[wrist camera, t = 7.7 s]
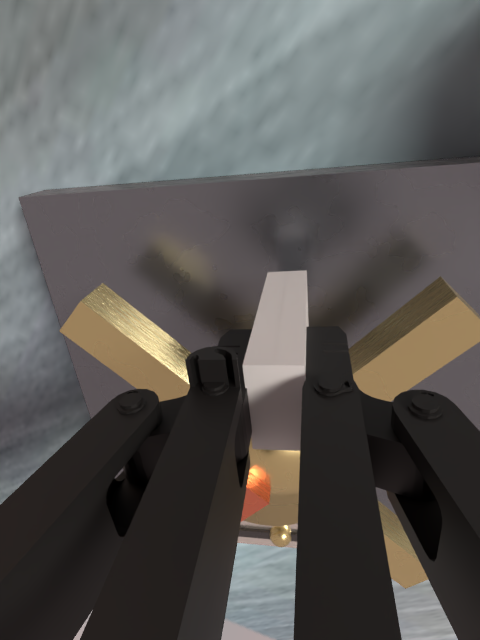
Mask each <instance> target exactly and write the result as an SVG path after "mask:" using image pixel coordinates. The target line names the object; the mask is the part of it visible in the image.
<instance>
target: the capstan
mask: <svg viewBox="0 0 480 640" xmlns="http://www.w3.org/2000/svg"><path fill="white" fill-rule="evenodd" d="M60 332H61V333H62V334H64V335H65V336H67V337H68V338H69V339H71V340H72V341H73V342H75V343H76V344H77V345H79V346H80V347H81V348H83V349H84V350H85V351H87V352H88V353H89V354H91V355H92V356H93V357H95V358H96V359H97V360H99V361H100V362H101V363H103V364H104V365H106V366H107V367H108V368H110V369H111V370H112V371H114V372H115V373H116V374H118V375H119V376H120V377H122V378H123V379H124V380H126V381H127V382H128V383H130V384H131V385H132V386H134V387H135V388H136V389H148V390H151V391H154V392H155V393H156V394H157V396H158V398H159V402H160V401H165V400H170V399H175V398H179V397H183V396H185V395H187V393H188V391H189V389H190V384H189V379H188V373H187V368H186V363H185V359H186V358H187V357H188V356H189V355H190V354H191V352H190V351H189V350H187V349H186V348H185V347H183V346H182V345H181V344H180V343H178V342H177V341H176V340H175V339H173V338H172V337H171V336H170V335H168V334H167V333H166V332H165V331H163V330H162V329H161V328H159V327H158V326H157V325H156V324H154V323H153V322H152V321H151V320H149V319H148V318H147V317H146V316H144V315H143V314H142V313H140V312H139V311H138V310H137V309H135V308H134V307H133V306H132V305H130V304H129V303H128V302H127V301H125V300H124V299H123V298H122V297H120V296H119V295H118V294H116V293H115V292H114V291H113V290H111V289H110V288H109V287H108V286H106V285H105V284H104V283H102V284H101V285H100V286H98V287H97V288H96V289H95V290H93V291H92V292H91V293H90V294H89V295H87V296H86V297H85V298H84V299H82V300H81V301H80V303H79V304H78V305H77V307H76V308H75V310H74V311H73V312H72V314H71V315H70V317H69V318H68V319H67V321H66V322H65V324H64V325H63V326H62V328H61V329H60ZM479 342H480V316H479V315H478V314H477V313H476V311H475V310H474V309H473V308H472V307H471V306H470V305H469V304H468V303H467V302H466V301H465V300H464V299H463V298H462V297H461V296H460V295H459V294H458V293H457V292H456V291H455V290H454V289H453V288H452V287H451V286H450V285H449V284H448V283H447V282H446V281H445V280H444V279H443V278H442V277H441V276H440V277H439V278H438V279H436V280H435V281H434V282H433V283H431V284H430V285H429V286H427V287H426V288H425V289H424V290H422V291H421V292H420V293H419V294H417V295H416V296H415V297H414V298H412V299H411V300H410V301H409V302H407V303H406V304H405V305H403V306H402V307H401V308H400V309H398V310H397V311H396V312H395V313H393V314H392V315H391V316H390V317H388V318H387V319H386V320H385V321H383V322H382V323H381V324H379V325H378V326H377V327H376V328H374V329H373V330H372V331H371V332H369V333H368V334H367V335H366V336H364V337H363V338H362V339H360V340H359V341H358V342H357V343H355V344H354V345H353V346H352V347H350V348H349V354H350V360H351V366H352V373H353V379H354V381H355V382H356V384H357V386H358V388H359V389H360V390H361V391H362V392H364V393H365V394H367V395H369V396H371V397H374V398H377V399H381V400H385V401H389V402H391V401H392V400H394V398H395V397H396V396H397V395H399V394H400V393H401V392H405V391H407V390H409V389H410V388H412V387H413V386H415V385H416V384H418V383H419V382H421V381H422V380H424V379H425V378H427V377H428V376H430V375H431V374H433V373H434V372H436V371H437V370H438V369H440V368H441V367H443V366H444V365H446V364H447V363H449V362H450V361H452V360H453V359H455V358H456V357H458V356H459V355H461V354H462V353H464V352H465V351H467V350H468V349H470V348H471V347H473V346H474V345H476V344H477V343H479ZM249 455H250V470H249V476H248V482H247V488H246V494H245V500H244V506H243V512H242V518H241V522H242V521H246V522H250V523H254V524H259V525H266V526H285V525H293V524H297V523H298V501H299V471H300V451H292V450H265V449H253V448H252V440H250V445H249ZM378 505H379V511H380V516H381V522H382V528H383V534H384V540H385V546H386V552H387V557H388V563H389V569H390V575H391V578H392V579H393V580H395V581H396V582H397V583H399V584H400V585H401V586H403V587H404V588H405V589H406V588H408V587H411V586H413V585H416V584H418V583H421V582H423V581H425V580H428V577H427V575H426V573H425V571H424V569H423V567H422V565H421V563H420V561H419V559H418V557H417V555H416V553H415V551H414V549H413V547H412V545H411V543H410V541H409V539H408V537H407V535H406V533H405V531H404V529H403V527H402V525H401V523H400V521H399V519H398V517H397V515H396V514H395V513H393V512H392V511H391V510H390V509H388V508H387V507H386V506H385V505H383V504H382V503H381V502H380V501H378Z"/></svg>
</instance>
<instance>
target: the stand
mask: <svg viewBox="0 0 480 640" xmlns="http://www.w3.org/2000/svg"><path fill="white" fill-rule="evenodd" d="M19 201H20V204H21V207H22V210H23V213H24V216H25V219H26V222H27V225H28V228H29V231H30V234H31V237H32V240H33V243H34V246H35V249H36V252H37V255H38V258H39V261H40V265H41V268H42V271H43V274H44V277H45V280H46V283H47V286H48V289H49V292H50V295H51V298H52V301H53V304H54V307H55V310H56V313H57V316H58V319H59V322H60V326H61V328H62V326H63V325H64V324H65V322H66V321H67V319H68V318H69V317H70V315H71V314H72V312H73V311H74V310H75V308H76V307H77V305H78V304H79V303H80V301H81V300H82V299H84V298H85V297H86V296H87V295H89V294H90V293H91V292H92V291H93V290H95V289H96V288H97V287H98V286H100V285H101V284H102V283H104V284H105V285H106V286H108V287H109V288H110V289H111V290H113V291H114V292H115V293H116V294H118V295H119V296H120V297H122V298H123V299H124V300H125V301H127V302H128V303H129V304H130V305H132V306H133V307H134V308H135V309H137V310H138V311H139V312H140V313H142V314H143V315H144V316H146V317H147V318H148V319H149V320H151V321H152V322H153V323H154V324H156V325H157V326H158V327H159V328H161V329H162V330H163V331H165V332H166V333H167V334H168V335H170V336H171V337H172V338H173V339H175V340H176V341H177V342H178V343H180V344H181V345H182V346H183V347H185V348H186V349H187V350H189V351H190V352H191V353H193V352H195V351H196V350H199V349H202V348H205V347H213V346H217V345H218V343H219V341H220V338H221V337H222V336H223V335H224V334H225V333H226V332H228V331H229V330H230V329H252V328H253V325H254V321H255V317H256V314H257V310H258V306H259V303H260V299H261V295H262V292H263V288H264V284H265V280H266V277H267V273H268V272H282V271H304V270H307V293H308V323H309V327H320V326H339V327H340V328H341V329H342V330H343V331H344V332H345V333H346V336H347V342H348V348H350V347H352V346H353V345H354V344H355V343H357V342H358V341H359V340H360V339H362V338H363V337H364V336H366V335H367V334H368V333H369V332H371V331H372V330H373V329H374V328H376V327H377V326H378V325H379V324H381V323H382V322H383V321H385V320H386V319H387V318H388V317H390V316H391V315H392V314H393V313H395V312H396V311H397V310H398V309H400V308H401V307H402V306H403V305H405V304H406V303H407V302H409V301H410V300H411V299H412V298H414V297H415V296H416V295H417V294H419V293H420V292H421V291H422V290H424V289H425V288H426V287H427V286H429V285H430V284H431V283H433V282H434V281H435V280H436V279H438V278H439V277H440V276H441V277H442V278H443V279H444V280H445V281H446V282H447V283H448V284H449V285H450V286H451V287H452V288H453V289H454V290H455V291H456V292H457V293H458V294H459V295H460V296H461V297H462V298H463V299H464V300H465V301H466V302H467V303H468V304H469V305H470V306H471V307H472V308H473V309H474V310H475V311H476V313H477V314H478V315H479V316H480V156H474V157H462V158H449V159H436V160H423V161H411V162H398V163H385V164H372V165H359V166H347V167H334V168H321V169H308V170H295V171H283V172H270V173H257V174H244V175H232V176H219V177H206V178H193V179H180V180H168V181H155V182H142V183H129V184H116V185H104V186H91V187H78V188H65V189H52V190H43V191H40V192H36V193H32V194H29V195H25V196H22V197H19ZM63 335H64V334H63ZM64 338H65V341H66V344H67V347H68V350H69V353H70V356H71V359H72V362H73V365H74V368H75V371H76V374H77V377H78V380H79V383H80V386H81V390H82V393H83V396H84V399H85V402H86V405H87V408H88V411H89V414H90V417H91V419H92V418H93V417H94V416H95V415H96V414H97V413H98V412H99V411H100V410H101V409H102V408H103V407H104V406H105V405H107V404H108V403H109V402H110V401H111V400H112V399H114V398H115V397H116V396H118V395H119V394H122V393H124V392H126V391H129V390H134V389H136V388H135V387H134V386H132V385H131V384H130V383H128V382H127V381H126V380H124V379H123V378H122V377H120V376H119V375H118V374H116V373H115V372H114V371H112V370H111V369H110V368H108V367H107V366H106V365H104V364H103V363H101V362H100V361H99V360H97V359H96V358H95V357H93V356H92V355H91V354H89V353H88V352H87V351H85V350H84V349H83V348H81V347H80V346H79V345H77V344H76V343H75V342H73V341H72V340H71V339H69V338H68V337H67V336H65V335H64ZM409 390H427V391H432V392H436V393H438V394H441V395H443V396H445V397H447V398H448V399H450V400H451V401H452V402H453V403H455V404H456V405H457V407H458V408H459V409H460V410H461V411H462V412H463V413H464V414H465V415H466V416H467V418H468V419H469V420H470V421H471V422H472V423H473V424H474V425H475V426H476V428H477V429H478V430H479V431H480V342H479V343H477V344H476V345H474V346H473V347H471V348H470V349H468V350H467V351H465V352H464V353H462V354H461V355H459V356H458V357H456V358H455V359H453V360H452V361H450V362H449V363H447V364H446V365H444V366H443V367H441V368H440V369H438V370H437V371H436V372H434V373H433V374H431V375H430V376H428V377H427V378H425V379H424V380H422V381H421V382H419V383H418V384H416V385H415V386H413V387H412V388H410V389H409ZM407 391H408V390H407ZM393 401H394V400H392V401H391V402H393ZM122 471H123V468H122V469H121V470H120V472H119V473H118V474H117V475H116V476H115V478H117V477H118V476H119V475H120V474H121V473H122ZM376 493H377V499H378V501H380V502H381V503H382V504H383V505H385V506H386V507H387V508H388V509H390V510H391V511H392V512H393V513H395V511H394V509H393V507H392V505H391V503H390V501H389V499H388V496H387V492H386V490H383V489H380V488H377V487H376ZM395 514H396V513H395ZM297 530H298V523H297V524H293V525H285V526H266V525H259V524H254V523H250V522H246V521H242V522H241V524H240V530H239V535H238V541H237V543H247V544H258V545H269V546H278V547H291V548H297Z"/></svg>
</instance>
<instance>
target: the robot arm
mask: <svg viewBox="0 0 480 640" xmlns="http://www.w3.org/2000/svg"><path fill="white" fill-rule="evenodd" d="M185 363H186V368H187V373H188V379H189V384H190V389H189V391H188V393H187V395H185V396H183V397H179V398H175V399H170V400H165V401H160V402H159V398H158V396H157V394H156V393H155V392H154V391H151V390H148V389H134V390H129V391H126V392H124V393H122V394H119V395H118V396H116V397H115V398H114V399H112V400H111V401H110V402H109V403H108V404H107V405H105V406H104V407H103V408H102V409H101V410H100V411H99V412H98V413H97V414H96V415H95V416H94V417H93V418H92V419H91V420H90V421H89V422H88V423H86V424H85V425H84V426H83V427H82V428H81V429H80V430H79V431H78V432H77V433H76V434H75V435H74V436H73V437H72V438H71V439H70V440H68V441H67V442H66V443H65V444H64V445H63V446H62V447H61V448H60V449H59V450H58V451H57V452H56V453H55V454H54V455H53V456H52V457H50V458H49V459H48V460H47V461H46V462H45V463H44V464H43V465H42V466H41V467H40V468H39V469H38V470H37V471H36V472H35V473H34V474H32V475H31V476H30V477H29V478H28V479H27V480H26V481H25V482H24V483H23V484H22V485H21V486H20V487H19V488H18V489H17V490H16V491H15V492H13V493H12V494H11V495H10V496H9V497H8V498H7V499H6V500H5V501H4V502H3V503H2V504H1V505H0V640H73V639H74V637H75V636H76V634H77V633H78V631H79V630H80V628H81V627H82V625H83V624H84V622H85V620H86V619H87V617H88V616H89V614H90V613H91V611H92V610H93V611H92V613H91V616H90V618H89V620H88V622H87V625H86V627H85V629H84V631H83V634H82V636H81V638H80V640H221V636H222V630H223V624H224V619H225V613H226V607H227V601H228V595H229V589H230V583H231V577H232V571H233V565H234V559H235V553H236V547H237V541H238V535H239V530H240V524H241V518H242V512H243V506H244V500H245V494H246V488H247V482H248V476H249V470H250V455H249V445H250V440H252V448H253V449H265V450H292V451H300V471H299V501H298V530H297V559H296V588H295V617H294V640H402V639H401V633H400V628H399V622H398V616H397V610H396V604H395V598H394V592H393V587H392V581H391V575H390V569H389V563H388V557H387V552H386V546H385V540H384V534H383V528H382V522H381V516H380V511H379V505H378V499H377V493H376V487H377V488H380V489H383V490H386V492H387V496H388V499H389V501H390V503H391V505H392V507H393V509H394V511H395V513H396V515H397V517H398V519H399V521H400V523H401V525H402V527H403V529H404V531H405V533H406V535H407V537H408V539H409V541H410V543H411V545H412V547H413V549H414V551H415V553H416V555H417V557H418V559H419V561H420V563H421V565H422V567H423V569H424V571H425V573H426V575H427V577H428V579H429V581H430V583H431V585H432V587H433V589H434V591H435V593H436V595H437V597H438V599H439V601H440V604H441V606H442V608H443V610H444V612H445V614H446V616H447V618H448V620H449V622H450V624H451V626H452V628H453V630H454V632H455V634H456V636H457V638H458V640H480V431H479V430H478V429H477V428H476V426H475V425H474V424H473V423H472V422H471V421H470V420H469V419H468V418H467V416H466V415H465V414H464V413H463V412H462V411H461V410H460V409H459V408H458V407H457V405H456V404H455V403H453V402H452V401H451V400H450V399H448V398H447V397H445V396H443V395H441V394H438V393H436V392H432V391H427V390H408V391H405V392H401V393H400V394H399V395H397V396H396V397H395V398H394V401H393V402H389V401H385V400H381V399H377V398H374V397H371V396H369V395H367V394H365V393H364V392H362V391H361V390H360V389H359V388H358V386H357V384H356V382H355V381H354V379H353V373H352V366H351V360H350V354H349V348H348V342H347V336H346V333H345V332H344V331H343V330H342V329H341V328H340V327H339V326H320V327H309V323H308V293H307V270H304V271H282V272H268V273H267V277H266V280H265V284H264V288H263V292H262V295H261V299H260V303H259V306H258V310H257V314H256V317H255V321H254V325H253V328H252V329H230V330H229V331H228V332H226V333H225V334H224V335H223V336H222V337H221V338H220V341H219V343H218V345H217V346H213V347H205V348H202V349H199V350H196V351H195V352H193V353H191V354H190V355H189V356H188V357H187V358H186V359H185ZM122 468H123V471H122V473H121V474H120V475H119V476H118V477H117V478H115V476H116V475H117V474H118V473H119V472H120V470H121V469H122Z"/></svg>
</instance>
